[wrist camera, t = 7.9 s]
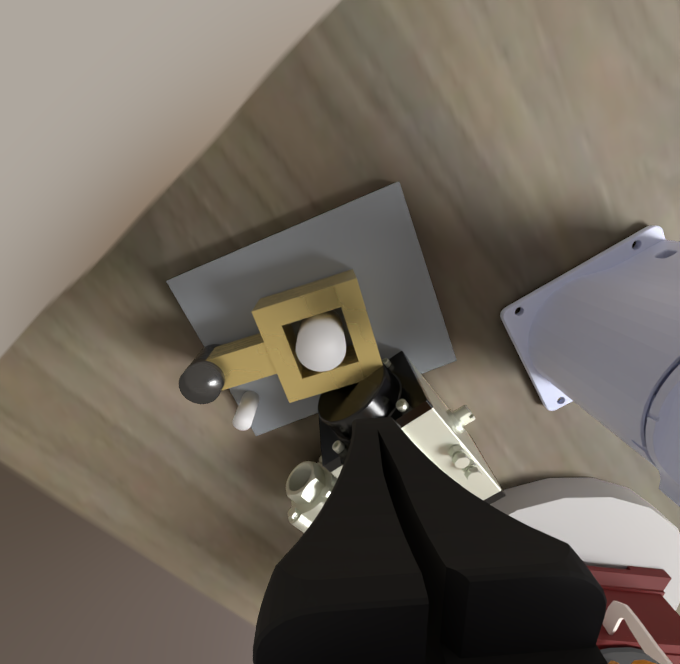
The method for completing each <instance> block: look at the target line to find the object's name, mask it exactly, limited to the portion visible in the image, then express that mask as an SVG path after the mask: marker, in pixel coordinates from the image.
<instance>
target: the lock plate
mask: <svg viewBox="0 0 680 664" xmlns="http://www.w3.org/2000/svg"><path fill="white" fill-rule="evenodd" d="M351 269H353V271H354V273H355V275H356V278H357V281H358V284H359V287H360V291H361V294H362V297H363V301H364V304H365V307H366V311H367V314H368V317H369V321H370V324H371V327H372V331H373V334H374V337H375V341H376V344H377V347H378V351H379V354H380V357H381V360H382V359H384V358H388V359H390V358H391V357H393V356H394V355H396V354H397V353H399V352H400V351H403V352H404V353H405V355H406V356H407V357H408V358H409V360H410V361H411V362H412V363H413V365H414V366H415V367H416V369H417V370H418V371H419V373H420V374H422V373H425V372H427V371H430V370H433V369H435V368H438V367H441V366H443V365H446V364H449V363H451V362H454V361H457V360H456V357H455V354H454V351H453V348H452V344H451V341H450V338H449V335H448V332H447V329H446V326H445V323H444V319H443V316H442V313H441V310H440V307H439V304H438V301H437V298H436V295H435V291H434V288H433V285H432V282H431V279H430V276H429V273H428V270H427V266H426V263H425V260H424V257H423V254H422V251H421V248H420V245H419V241H418V238H417V235H416V232H415V229H414V226H413V223H412V220H411V216H410V213H409V210H408V207H407V204H406V201H405V198H404V195H403V191H402V188H401V185H400V182H395V183H393V184H390V185H388V186H386V187H383V188H381V189H379V190H376V191H374V192H372V193H369V194H367V195H365V196H362V197H360V198H358V199H355V200H353V201H351V202H348V203H346V204H344V205H341V206H339V207H337V208H334V209H332V210H330V211H327V212H325V213H323V214H320V215H318V216H316V217H313V218H311V219H309V220H306V221H304V222H302V223H299V224H297V225H295V226H292V227H290V228H288V229H285V230H283V231H281V232H278V233H276V234H274V235H271V236H269V237H267V238H264V239H262V240H260V241H257V242H255V243H253V244H250V245H248V246H246V247H243V248H241V249H239V250H236V251H234V252H232V253H229V254H227V255H225V256H222V257H220V258H218V259H215V260H213V261H211V262H208V263H206V264H204V265H201V266H199V267H197V268H194V269H192V270H190V271H187V272H185V273H183V274H180V275H178V276H176V277H173V278H171V279H169V280H167V281H166V282H167V284H168V285H169V287H170V289H171V290H172V292H173V294H174V296H175V297H176V299H177V301H178V302H179V304H180V306H181V308H182V309H183V311H184V313H185V314H186V316H187V318H188V320H189V321H190V323H191V325H192V327H193V328H194V330H195V332H196V333H197V335H198V337H199V339H200V340H201V342H202V344H203V345H204V347H206V346H208V345H212V344H218V345H224V344H227V343H230V342H233V341H236V340H240V339H243V338H246V337H249V336H252V335H255V334H259V333H260V331H259V329H258V326H257V324H256V322H255V319H254V317H253V314H252V310H253V308H254V307H255V305H256V304H257V302H258V301H259V299H261V298H264V297H267V296H270V295H273V294H276V293H280V292H283V291H286V290H289V289H292V288H295V287H298V286H301V285H305V284H308V283H311V282H314V281H317V280H320V279H323V278H326V277H330V276H333V275H336V274H339V273H342V272H345V271H348V270H351ZM291 325H292V328H293V330H294V333H295V336H296V338H297V342H296V354H297V357H298V359H299V361H300V362H301V363H302V364H303V365H304V366H305V367H307V368H308V369H311V370H313V371H318V372H323V371H329V370H331V369H334V368H335V367H337V366H338V365H339V364H340V363H341V362H342V360H343V359H344V357H345V354H346V347H347V346H351V345H353V342H352V339H351V336H350V333H349V330H348V327H347V324H346V320H345V317H344V314H343V311H342V308H341V307H340V308H337V309H333V310H330V311H327V312H324V313H321V314H317V315H314V316H311V317H308V318H305V319H302V320H298V321H295V322H292V323H291ZM229 390H230V392H231V394H232V395H233V397H234V399H235V400H236V402H237V404H238V409H237V411H236V413H235V416H234V418H233V425H234V427H235V428H237V429H239V430H247V429H249V428H250V427H251V428H252V430H253V431H254V433H255V435H256V436H258V435H260V434H263V433H265V432H268V431H271V430H273V429H276V428H279V427H281V426H284V425H287V424H289V423H292V422H295V421H297V420H300V419H303V418H305V417H308V416H311V415H313V414H316V413H318V401H319V398H320V395H321V394H318V395H314V396H311V397H308V398H304V399H301V400H298V401H294V402H291V403H289V401H288V399H287V396H286V394H285V391H284V389H283V387H282V384H281V382H280V379H279V377H278V375H277V374H274V375H271V376H268V377H264V378H261V379H258V380H255V381H251V382H248V383H245V384H242V385H238V386H235V387H232V388H229Z"/></svg>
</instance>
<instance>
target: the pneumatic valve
mask: <svg viewBox="0 0 680 664" xmlns="http://www.w3.org/2000/svg"><path fill="white" fill-rule="evenodd" d="M381 361H382V364H383V366H382V367H380V368H379V369H377V370H376V371H374V372H373V373H372V374H370V375H369V376H367V377H366V378H365V379H363V380H362V381H360V382H358V383H355V384H351V385H348V386H345V387H341V388H338V389H335V390H331V391H328V392H324V393H321V395H320V398H319V401H318V414H319V425H320V439H321V453H322V455H321V456H320V458H319V463H315V462H312V461H304V462H302V463H300V464H299V465H297V466H296V467H295V468H294V469H293V470H292V472H291V473H290V475H289V477H288V479H287V482H286V493H287V497H289V498H290V499H291V506H292V507H291V508H290V510H289V511H288V517H289V518H288V520H289V522H290V523H291V524H292V525H294V526H295V527H296V528H298V529H299V530H301V531H302V532H303V533H305V531H306V530H307V529H308V527H309V526H310V525H311V523H312V522H313V521H314V519H315V518H316V516H317V515H318V513H319V512H320V510H321V509H322V507H323V505H324V504H325V502H326V500H327V499H328V497H329V495H330V493H331V491H332V489H333V487H334V485H335V483H336V481H337V479H338V477H339V474H340V472H341V469H342V467H343V464H344V462H345V459H346V456H347V453H348V449H349V446H350V442H351V437H352V422H353V421H354V420H355V419H367V418H385V417H391V418H392V419H393V420H394V421H395V422H396V423H397V424H398V426H399V427H400V428H401V429H402V430H403V432H404V433H405V434H406V435H407V436H408V437H409V438H410V439H411V441H412V442H413V443H414V444H415V445H416V446H417V447H418V448H419V449H420V450H421V451H422V452H423V453H424V454H425V455H426V456H427V457H428V458H429V459H430V460H431V461H432V462H433V463H434V464H435V465H437V466H438V467H439V468H440V469H441V470H442V471H443V472H444V473H446V474H447V475H448V476H449V477H451V478H452V479H453V480H455V481H456V482H457V483H459V484H460V485H461V486H463V487H464V488H465V489H467V490H468V491H470V492H471V493H472V494H474V495H475V496H477V497H479V498H480V499H482V500H483V501H485V502H487V503H488V504H490V505H491V504H492V503H494V502H496V501H497V500H499V499H501V498H503V497H505V496H506V494H505V492H504V491H503V489H502V487H501V486H500V484H499V482H498V481H497V479H496V477H495V476H494V474H493V472H492V471H491V469H490V467H489V466H488V464H487V462H486V461H485V459H484V457H483V456H482V454H481V452H480V451H479V449H478V447H477V446H476V444H475V442H474V441H473V439H472V437H471V436H470V435H469V434H468V432H467V431H466V430H465V429H464V427H463V426H465V425H467V424H468V423H470V422H471V421H473V420H475V417H474V415H473V414H472V412H471V411H470V410H469V409H468V407H467V406H466V405H463V406H462V407H460V408H458V409H457V410H455V411H454V412H453V411H452V410H451V409H448V407H447V406H446V405H445V404H444V402H443V401H442V400H441V399H440V397H439V396H438V395H437V394H436V392H435V391H434V390H433V389H432V387H431V386H430V385H429V384H428V382H427V381H426V380H425V378H424V377H423V376H422V375H421V374H420V373H419V371H418V370H417V369H416V367H415V366H414V365H413V363H412V362H411V361H410V360H409V358H408V357H407V356H406V355H405V353H404V352H403V351H400V352H399V353H397V354H396V355H394V356H393V357H391V358H390V359H388V358H384V359H382V360H381Z"/></svg>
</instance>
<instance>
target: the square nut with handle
mask: <svg viewBox="0 0 680 664" xmlns="http://www.w3.org/2000/svg"><path fill="white" fill-rule="evenodd" d="M340 307H341V308H342V311H343V314H344V317H345V320H346V324H347V327H348V330H349V333H350V336H351V339H352V342H353V345H351V346H347V347H346V354H345V357H344V359H343V360H342V362H341V363H340V364H339V365H338V366H337V367H335V368H334V369H331V370H329V371H323V372H318V371H313V370H311V369H308V368H307V367H305V366H304V365H303V364H302V363H301V362H300V361H299V359H298V357H297V354H296V342H297V338H296V336H295V333H294V330H293V328H292V325H291V323H292V322H295V321H298V320H302V319H305V318H308V317H311V316H314V315H317V314H321V313H324V312H327V311H330V310H333V309H337V308H340ZM252 314H253V317H254V319H255V322H256V324H257V326H258V329H259V331H260V333H259V334H255V335H252V336H249V337H246V338H243V339H240V340H236V341H233V342H230V343H227V344H224V345H218V344H212V345H208V346H206V347H205V348H203V349H202V350H201V352H200V353H199V354H198V355H197V357H196V358H195V359H194V360H193V362H192V363H191V364H190V365H189V366H188V368H187V369H186V370H185V371H184V373H183V374H182V375H181V377H180V379H179V388H180V391H181V393H182V394H183V396H184V397H185V398H186V399H188V400H189V401H191V402H193V403H197V404H207V403H210V402H212V401H214V400H215V399H216V398H217V397H218V396H219V394H220V392H221V391H222V390H225V389H228V388H232V387H235V386H238V385H242V384H245V383H248V382H251V381H255V380H258V379H261V378H264V377H268V376H271V375H274V374H277V375H278V377H279V379H280V382H281V384H282V387H283V389H284V391H285V394H286V396H287V399H288V401H289V403H291V402H294V401H298V400H301V399H304V398H308V397H311V396H314V395H318V394H321V393H324V392H328V391H331V390H335V389H338V388H341V387H345V386H348V385H351V384H355V383H358V382H360V381H362V380H363V379H365V378H366V377H367V376H369V375H370V374H372V373H373V372H374V371H376V370H377V369H379V368H380V367H382V366H383V364H382V361H381V357H380V354H379V351H378V347H377V344H376V341H375V337H374V334H373V331H372V327H371V324H370V321H369V317H368V314H367V311H366V307H365V304H364V301H363V297H362V294H361V291H360V287H359V284H358V281H357V278H356V275H355V273H354V271H353V269H351V270H348V271H345V272H342V273H339V274H336V275H333V276H330V277H326V278H323V279H320V280H317V281H314V282H311V283H308V284H305V285H301V286H298V287H295V288H292V289H289V290H286V291H283V292H280V293H276V294H273V295H270V296H267V297H264V298H261V299H259V301H258V302H257V304H256V305H255V307H254V308H253V310H252Z"/></svg>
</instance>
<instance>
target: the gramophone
mask: <svg viewBox="0 0 680 664" xmlns="http://www.w3.org/2000/svg"><path fill="white" fill-rule="evenodd" d="M503 491H504V492H505V494H506V496H505V497H503V498H501V499H499V500H497V501H496V502H494V503H492V504H491V506H493V507H495V508H496V509H498V510H500V511H502V512H503V513H505V514H507V515H509V516H511V517H513V518H515V519H516V520H518V521H520V522H522V523H524V524H526V525H528V526H530V527H532V528H534V529H537V530H539V531H541V532H543V533H546V534H548V535H550V536H552V537H555V538H557V539H559V540H561V541H564V542H566V543H568V544H569V545H570V546H571V547H572V549H573V550H574V551H575V552H576V553H577V555H578V556H579V557H580V558H581V559H582V561H583V562H584V563H585V565H586V566H587V567H588V569H589V570H590V571H591V573H592V574H593V576H594V577H595V578H596V580H597V581H598V583H599V584H600V585H601V587H602V588H603V590H604V592H605V596H606V599H607V605H606V613H605V617H604V620H603V623H602V626H601V630H600V633H599V636H598V639H597V643H596V645H597V647H598V648H599V650H600V651H601V653H602V655H603V656H604V658H605V659H606V661H607V663H608V664H680V616H679V615H678V614H677V612H676V609H677V607H678V605H679V603H680V533H679V531H678V529H677V527H676V526H674V525H673V524H672V523H671V522H670V521H669V520H668V519H667V518H666V517H665V516H664V515H663V514H661V513H660V512H659V511H658V510H657V509H656V508H655V507H654V506H652V505H651V504H650V503H648V502H647V501H646V500H644V499H643V498H642V497H640V496H639V495H638V494H636V493H635V492H634V491H632V490H631V489H630V488H628V487H624V486H621V485H617V484H614V483H610V482H607V481H603V480H600V479H596V478H593V477H585V478H547V479H543V480H539V481H535V482H532V483H528V484H524V485H520V486H516V487H513V488H509V489H505V490H503Z"/></svg>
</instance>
